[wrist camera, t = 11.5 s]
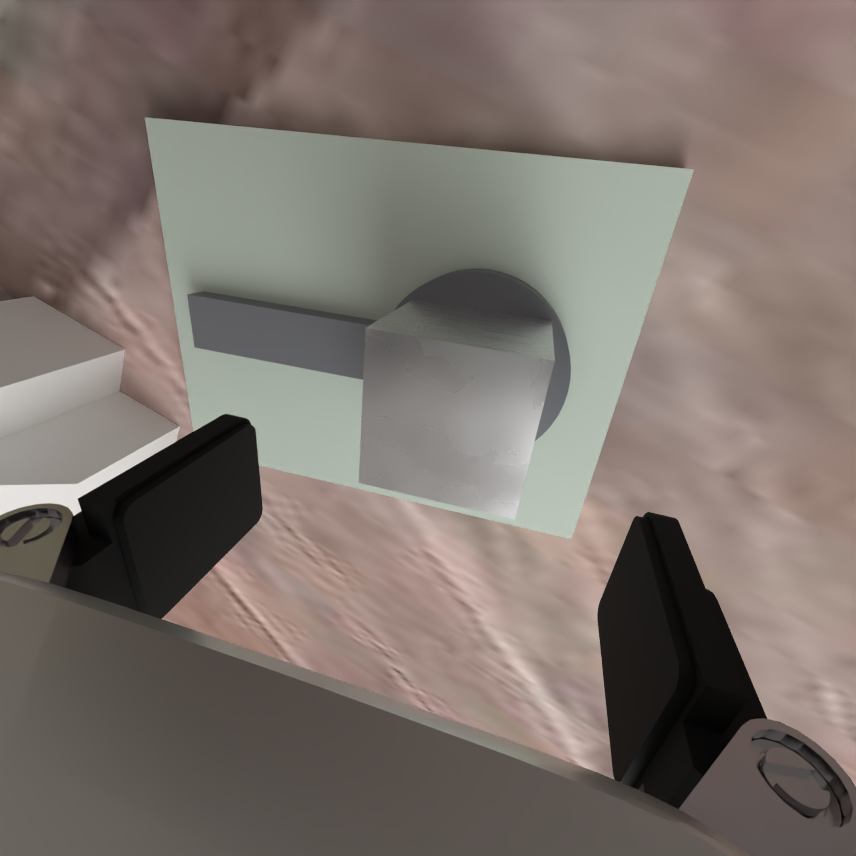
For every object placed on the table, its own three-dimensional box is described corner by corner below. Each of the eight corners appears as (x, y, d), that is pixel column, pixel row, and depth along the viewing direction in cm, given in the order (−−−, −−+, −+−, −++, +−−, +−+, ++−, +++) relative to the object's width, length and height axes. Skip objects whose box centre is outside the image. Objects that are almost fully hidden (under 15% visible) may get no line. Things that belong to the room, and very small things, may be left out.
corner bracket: (34, 296, 28) (-283, 342, 17) (189, 386, 28) (-30, 488, 17) (32, 423, 33) (-212, 520, 22) (163, 499, 33) (-18, 631, 22)
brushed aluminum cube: (551, 320, 18) (554, 360, 13) (522, 444, 21) (514, 519, 16) (414, 298, 19) (365, 328, 14) (403, 420, 22) (358, 482, 17)
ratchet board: (686, 172, 17) (750, 149, 12) (570, 528, 25) (577, 610, 20) (161, 121, 21) (31, 87, 16) (207, 443, 29) (131, 493, 24)
